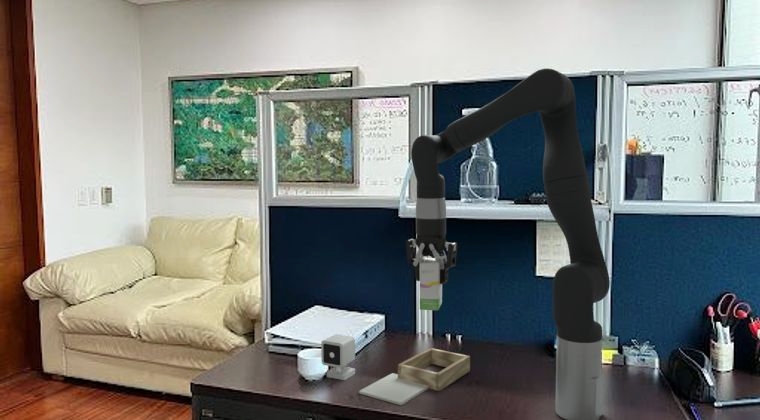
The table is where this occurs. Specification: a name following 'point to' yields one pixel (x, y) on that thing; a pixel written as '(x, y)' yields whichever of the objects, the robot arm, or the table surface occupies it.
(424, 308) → the ink box
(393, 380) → the mat
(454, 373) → the wooden frame
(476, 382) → the table surface
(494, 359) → the table surface
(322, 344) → the security camera
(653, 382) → the table surface
